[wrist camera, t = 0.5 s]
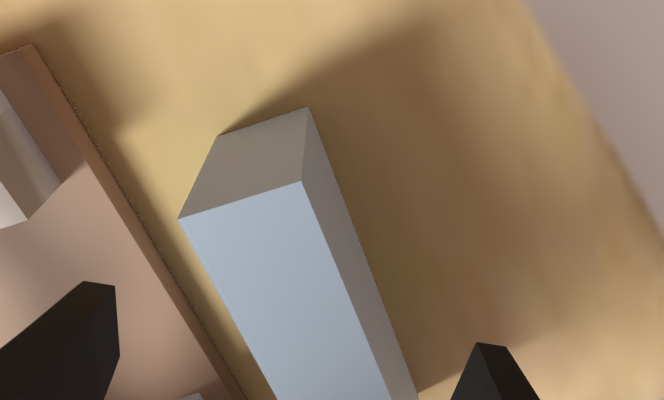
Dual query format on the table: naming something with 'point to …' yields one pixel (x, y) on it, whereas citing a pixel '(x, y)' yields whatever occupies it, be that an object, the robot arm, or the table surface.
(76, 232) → the frame
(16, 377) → the robot arm
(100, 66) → the table surface
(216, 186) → the slat
